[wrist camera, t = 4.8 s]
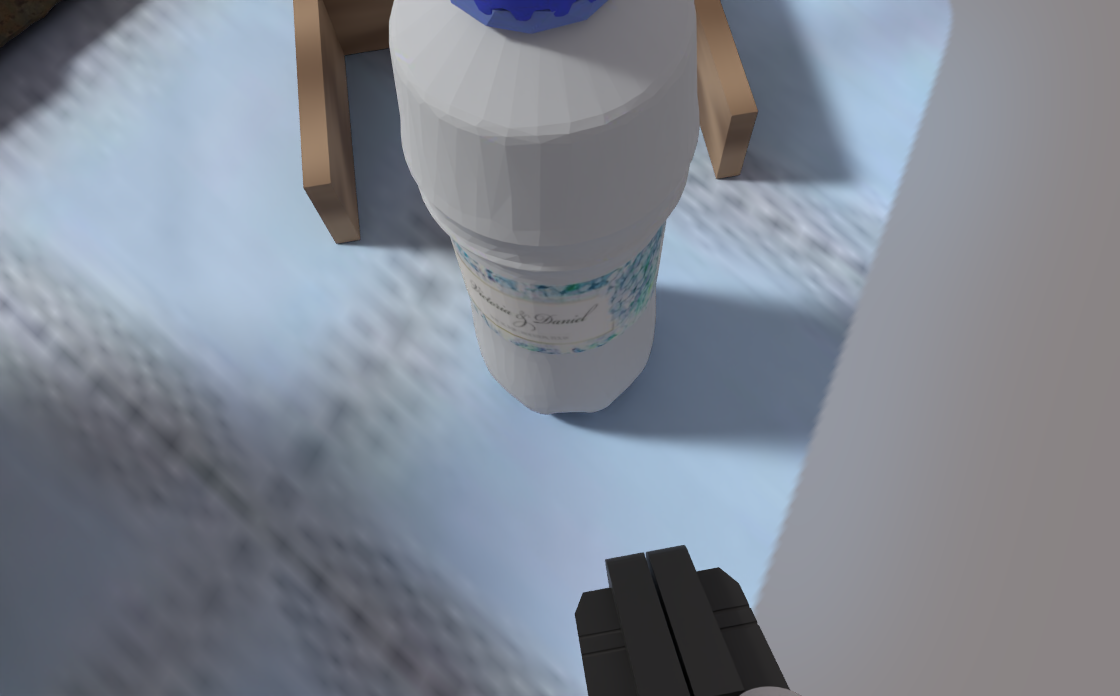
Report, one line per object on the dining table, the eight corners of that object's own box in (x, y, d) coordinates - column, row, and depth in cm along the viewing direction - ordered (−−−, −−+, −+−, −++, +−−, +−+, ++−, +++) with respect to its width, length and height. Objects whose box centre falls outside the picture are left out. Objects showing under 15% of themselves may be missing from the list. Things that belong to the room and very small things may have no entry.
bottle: (452, 399, 30) (222, -63, 11) (520, 252, 32) (421, -327, 14) (620, 461, 29) (669, 58, 10) (678, 304, 31) (803, -254, 12)
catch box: (739, 175, 33) (757, 111, 29) (336, 243, 33) (303, 187, 29) (679, -16, 37) (688, -92, 34) (321, 42, 37) (291, -29, 33)
